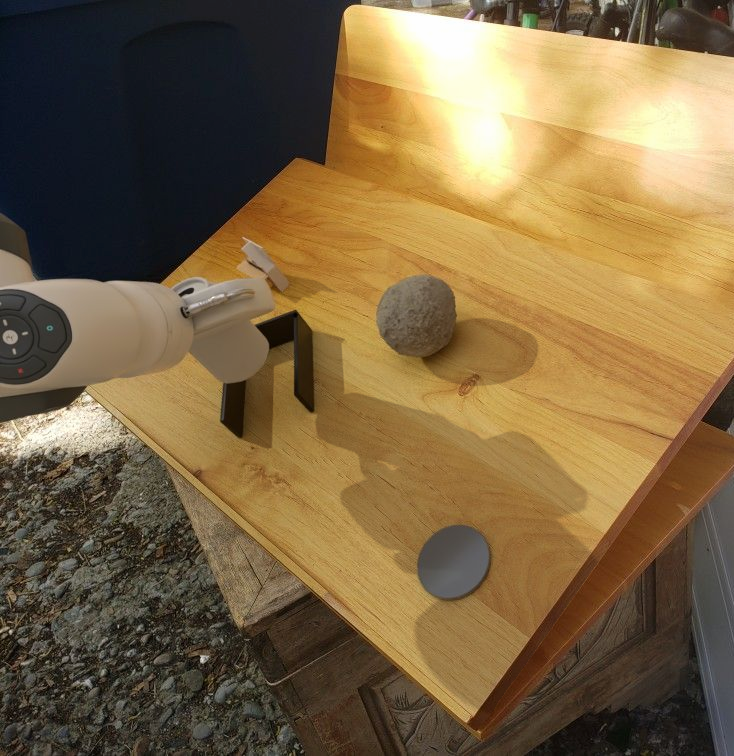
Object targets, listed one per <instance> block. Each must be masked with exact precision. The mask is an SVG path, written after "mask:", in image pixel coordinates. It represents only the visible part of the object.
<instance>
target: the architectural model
mask: <svg viewBox="0 0 734 756" xmlns="http://www.w3.org/2000/svg"><path fill="white" fill-rule="evenodd" d="M241 238H242V240H244V242H245V245H243V244H241V243H240V246H242V247H241V248H240V250H241V251H242V252H243V253H244V254H245V255H243V259H244V260H242V262H240V263H239V264H238V265H237V266H236V269H237V270H238V271H240V272H242V273H243V274H244V275H246V276H248V277H249V278H262V279H265V280H266V281H268V282H269V283H270V284H271V285H273V287H274V288H277V289H278V290H279V292H280V293H281V292H283V291H284V290H286V289H287V288H288V287H289V286H290V281H289V280H288V279H287V278H286V276H285V275H284V274H283V272H282V271H281V269H280V268H279V267H278V265H277V264H276V263H275V261H274V260H273V258H271V256H270V255H269V254H268V252H267V251H266V249H264V247H263V246H261V245H259V244H257V243H256V242H254V241H252V240H251V239H248V238H246V237H244V236H242V237H241Z"/></svg>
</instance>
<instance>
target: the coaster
mask: <svg viewBox="0 0 734 756" xmlns="http://www.w3.org/2000/svg"><path fill="white" fill-rule="evenodd" d="M491 554H492V553H491V547H490V545H489V543H488V541H487V539H486V538H485V537H484V535H483V534H482V533H481V531H479V530H477V529H476V528H474V527H472V526H469V525H465V524H453V525H449V526H445V527H443V528H441V529H439V530H438V531H435V532H434V533H433V534H432V535H431V536H430V537H429V538H428V539H427V540H426V541H425V543H424V544H423V546H422V548H421V550H420V552H419V555H418V558H417V564H416V571H417V572H416V573H417V576H418V580H419V582H420V584H421V586H422V588H423V589H424V590H425V591H426V592H427V593H428V594H429V595H431V596H432V597H434V598H436V599H439V600H442V601H457V600H460V599H464V598H466V597H467V596H469V595H471V594H473V593H474V592H475V591H476V590H478V588H479V587H480V586H481V585H482V584H483V583H484V581H485V580H486V578H487V576H488V574H489V571H490V568H491V561H492V555H491Z"/></svg>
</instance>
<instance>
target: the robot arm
mask: <svg viewBox="0 0 734 756" xmlns="http://www.w3.org/2000/svg"><path fill="white" fill-rule="evenodd" d="M33 269H34V268H33V264H32V258H31V254H30V249H29V244H28V239H27V234H26V231H25V230H24V229H23V228H22V227H20V226H19V224H17V223H16V222H14V221H13V220H12V219H11V218H9V217H8V216H6V215H5V214H3V213H1V212H0V424H3V423H7V422H11V421H14V420H18V419H22V418H26V417H30V416H31V417H32V416H36V415H37V416H38V415H43V414H47V413H52V412H55V411H58V410H62V409H65V408H68V407H69V406H71V405H72V403H73V402H75V401H76V400H77V399H78V398H79V397H80V396H81V395H82V394H83V393H84V392H85V390H86V389H87V388H88V387H89V386H94V385H98V384H103V383H106V382H107V383H108V382H109V381H112V380H115V379H131V378H136V377H143V376H148V375H151V374H157V373H163V372H167V371H169V370H171V369H173V368H174V367H176V366H178V365H179V364H180V363H181V362H182V361H183V360H184V359H185V358H186V356H187V355H188V353H189V352H188V351H189V349H190V347H191V344H192V342H193V341H196V340H198V339H201V338H204V337H206V336H209V335H212V334H214V333H217V332H220V331H222V330H225V329H228V328H230V327H233V326H235V325H238V324H241V323H243V322H246V321H249V320H250V321H252V320H254V319H257V318H259V317H262V316H265V315H267V314H270V313H271V312H273V311H274V310H275V309H276V301H275V297H274V295H273V292H272V290H271V287H270V286H269V284H268V282H267V279H262V278H251V277H247V278H245V277H244V278H235V279H229V280H225V281H223V282H218V283H216V284H215V285H213V286H210V287H207V288H205V289H202V290H200V291H197V292H194V293H192V294H189V295H187V296H184V297H180V296H179V295H178V294H177V293H176V292H174V291H173V290H171V288H169V287H168V286H166V285H164V284H161V283H158V282H153V281H152V282H151V281H133V280H108V281H103V282H102V281H99V280H96V279H88V278H55V279H54V278H53V279H52V278H51V279H41V280H35V278H34V277H35V276H34V275H33Z"/></svg>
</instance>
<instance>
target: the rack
mask: <svg viewBox="0 0 734 756" xmlns="http://www.w3.org/2000/svg"><path fill="white" fill-rule="evenodd" d="M254 325H255V326H256V327H257V329H258V330H259V331H260V332H261V333H262V334H263V335H264V337H265V338H266V339H267V341H268V343H269V350H270V349H273V348H276V347H278V346H281V345H284V344H287V343H288V342H292V341H293V396H294V397H295V398H296V399H297V401H299V402H300V403H301V405H302V406H303V407H304V408H305V409H306V410H307V411H308V413H314V412H315V388H314V387H315V386H314V354H313V353H314V349H313V348H314V347H313V344H314V343H313V329H312V328H311V326H310V325H309V324H308V323H307V322H306V320H305V319H304V318H303V316H302V315H301V314H300V312H299V311H298V310H297V309H293V310H290V311H288V312H285V313H283V314H280V315H277V316H274V317H271V318H269V319H266V320H263V321H261V322H258V323H255V324H254ZM246 383H247V379H246V380H244V381H241V382H235V383H223V382H222V393H221V403H220V414H219V415H220V417H219V423H221V424H222V425H223V426H224V427H225V428H226V429H227V430H229V432H231V433H232V434H233V435H234V436H235V437H236V438H238V439H240V438H243V433H244V432H243V431H244V418H245V417H244V415H245V399H246V398H245V397H246Z"/></svg>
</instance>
